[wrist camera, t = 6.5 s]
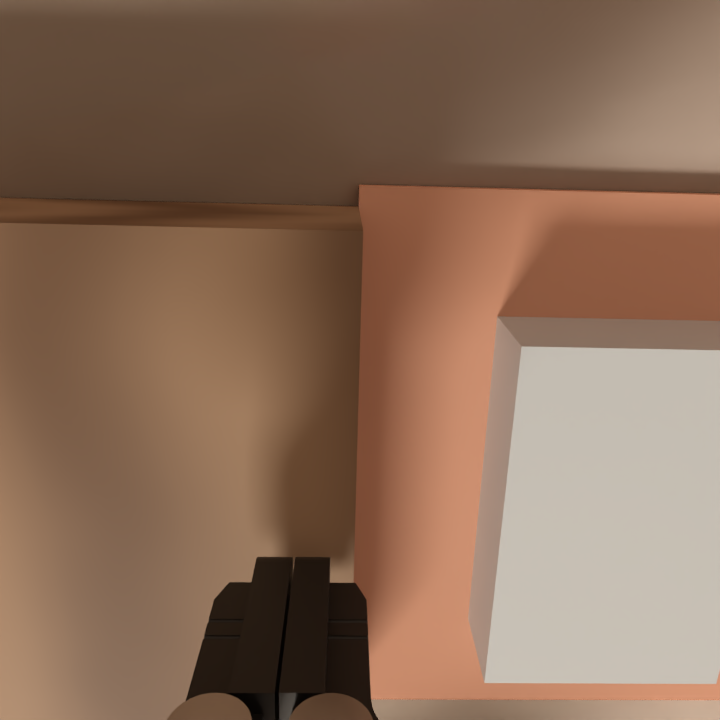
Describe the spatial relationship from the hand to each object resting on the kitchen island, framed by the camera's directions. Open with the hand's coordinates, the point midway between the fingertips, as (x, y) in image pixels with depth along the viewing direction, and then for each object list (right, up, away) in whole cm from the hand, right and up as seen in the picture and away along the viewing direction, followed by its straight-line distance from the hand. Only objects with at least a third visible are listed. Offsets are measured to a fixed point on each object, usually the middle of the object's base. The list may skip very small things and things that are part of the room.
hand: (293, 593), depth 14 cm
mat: (+9, +2, +5) cm, 10 cm away
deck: (-4, +2, +4) cm, 6 cm away
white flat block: (+8, +1, +3) cm, 8 cm away
